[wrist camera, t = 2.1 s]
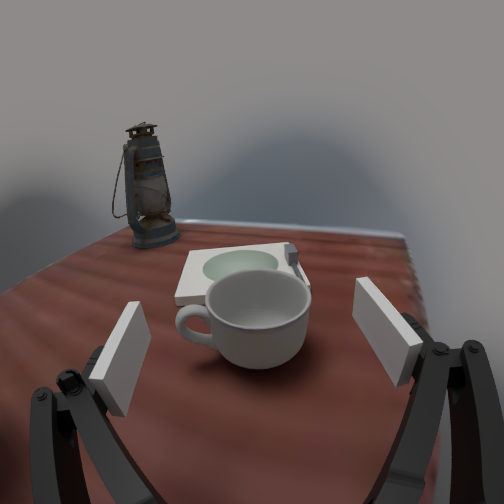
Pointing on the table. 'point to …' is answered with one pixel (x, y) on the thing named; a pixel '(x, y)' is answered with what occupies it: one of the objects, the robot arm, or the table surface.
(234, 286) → the teacup
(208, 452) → the table surface
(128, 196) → the lantern
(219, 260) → the record player
